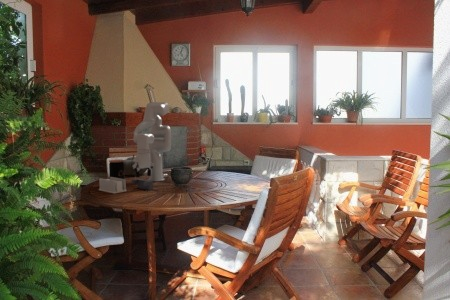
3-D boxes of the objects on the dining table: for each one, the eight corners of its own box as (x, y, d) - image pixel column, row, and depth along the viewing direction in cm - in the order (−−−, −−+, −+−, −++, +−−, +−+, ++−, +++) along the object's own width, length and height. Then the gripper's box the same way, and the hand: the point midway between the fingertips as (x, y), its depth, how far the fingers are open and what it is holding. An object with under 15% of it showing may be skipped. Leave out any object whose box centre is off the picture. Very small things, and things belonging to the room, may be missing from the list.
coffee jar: (120, 186, 294) (119, 161, 292) (107, 185, 296) (106, 161, 294) (127, 183, 305) (126, 159, 303) (114, 183, 307) (113, 159, 305)
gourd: (152, 168, 360) (149, 150, 355) (149, 178, 336) (145, 158, 331) (124, 172, 359) (120, 153, 354) (118, 181, 335) (114, 161, 330)
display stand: (111, 187, 288) (111, 176, 287) (126, 191, 276) (126, 179, 275) (98, 190, 280) (98, 178, 279) (113, 193, 268) (113, 181, 268)
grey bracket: (140, 187, 290) (140, 178, 290) (152, 189, 281) (152, 181, 280) (132, 188, 285) (131, 180, 284) (144, 191, 276) (144, 182, 275)
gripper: (149, 150, 290) (150, 174, 291) (129, 152, 277) (129, 177, 278) (156, 151, 285) (156, 175, 286) (135, 152, 272) (136, 178, 274)
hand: (143, 176), depth 282 cm, fingers open, 9 cm apart
